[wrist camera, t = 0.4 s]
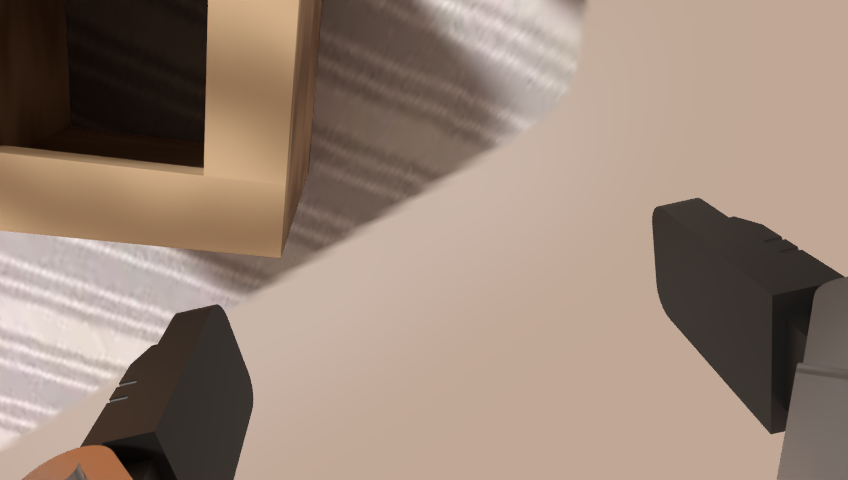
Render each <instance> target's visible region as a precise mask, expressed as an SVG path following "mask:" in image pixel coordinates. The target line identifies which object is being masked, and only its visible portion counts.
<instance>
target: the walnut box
mask: <svg viewBox="0 0 848 480" xmlns="http://www.w3.org/2000/svg"><path fill="white" fill-rule="evenodd" d="M322 2H323V0H208V23H207V63H206V104H205V143H204V142H196V141H187V140H179V139H171V138H162V137H154V136H146V135H137V134H129V133H121V132H112V131H104V130H96V129H87V128H79V127H71V112H70V91H69V70H68V50H67V29H66V8H65V0H0V231H10V232H20V233H30V234H40V235H50V236H61V237H71V238H81V239H91V240H101V241H111V242H121V243H132V244H142V245H152V246H162V247H172V248H182V249H192V250H203V251H213V252H223V253H233V254H243V255H253V256H263V257H274V258H281V255H282V252H283V249H284V246H285V243H286V240H287V237H288V234H289V230H290V227H291V224H292V221H293V218H294V215H295V212H296V209H297V206H298V202H299V199H300V196H301V193H302V190H303V187H304V184H305V181H306V178H307V174H308V170H309V158H310V146H311V134H312V122H313V110H314V98H315V86H316V74H317V62H318V50H319V38H320V26H321V14H322Z"/></svg>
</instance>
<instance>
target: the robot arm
mask: <svg viewBox="0 0 848 480" xmlns="http://www.w3.org/2000/svg"><path fill="white" fill-rule="evenodd" d="M652 225H653V239H654V254H655V268H656V282H657V290H658V294H659V298H660V301H661V304H662V306H663V309H664V311H665V312H666V314H667V316H668V317H669V318H670V320H671V321H672V322H673V323H674V324H675V325H676V326H677V328H678V329H679V330H680V331H681V332H682V333H683V334H684V336H685V337H686V338H687V339H688V340H689V341H690V342H691V343H692V345H693V346H694V347H695V348H696V349H697V350H698V352H699V353H700V354H701V355H702V356H703V357H704V358H705V360H706V361H707V362H708V363H709V364H710V365H711V366H712V368H713V369H714V370H715V371H716V372H717V373H718V374H719V375H720V377H721V378H722V379H723V380H724V381H725V382H726V383H727V385H728V386H729V387H730V388H731V389H732V390H733V392H734V393H735V394H736V395H737V396H738V397H739V398H740V399H741V401H742V402H743V403H744V404H745V405H746V406H747V408H748V409H749V410H750V411H751V412H752V413H753V414H754V416H755V417H756V418H757V419H758V420H759V421H760V422H761V424H762V425H763V426H764V427H765V428H766V429H767V430H768V431H769V433H770V434H774V433H779V432H783V431H785V436H784V441H783V447H782V452H781V458H780V464H779V470H778V475H777V480H848V277H844V276H842V275H841V274H839V273H838V272H836V271H835V270H833V269H832V268H830V267H828V266H827V265H825V264H824V263H822V262H820V261H819V260H817V259H816V258H814V257H813V256H811V255H809V254H808V253H806V252H805V251H803V250H798V247H797V246H795V245H794V244H792V243H791V242H789V241H787V240H786V239H785V240H782V237H781V236H779V235H778V234H776V233H775V232H773V231H772V230H770V229H768V228H767V227H765V226H764V225H762V224H758V223H755V222H752V221H748V220H744V219H741V218H737V217H730V218H729V217H727V216H726V215H724V214H723V213H721V212H720V211H718V210H717V209H715V208H714V207H712V206H711V205H709V204H708V203H706V202H705V201H703V200H702V199H700V198H695V199H690V200H686V201H681V202H676V203H672V204H667V205H663V206H658V207H656V208H655V209H654V212H653V216H652ZM119 385H120V387H117V388H116V389H115V391H114V393H113V394H112V396H111V398H110V399H109V400H110V403H107V404H106V406H105V408H104V409H103V411H102V412H101V414H100V416H99V417H98V419H97V420H96V422H95V424H94V425H93V427H92V429H91V431H90V432H89V434H88V435H87V437H86V438H85V440H84V442H83V443H82V445H81V447H80V448H76V449H73V450H70V451H67V452H65V453H63V454H60V455H58V456H56V457H54V458H52V459H50V460H48V461H47V462H45V463H43V464H42V465H40V466H39V467H37V468H36V469H34V470H33V471H32V472H30V473H29V474H28V475H27V476H26V477H24V478H23V479H22V480H233V479H234V476H235V472H236V468H237V465H238V461H239V457H240V453H241V449H242V446H243V442H244V438H245V435H246V431H247V427H248V423H249V419H250V416H251V412H252V408H253V390H252V384H251V380H250V376H249V373H248V370H247V368H246V365H245V362H244V360H243V358H242V355H241V352H240V349H239V347H238V344H237V342H236V339H235V336H234V334H233V331H232V329H231V326H230V323H229V320H228V318H227V316H226V313H225V311H224V310H223V308H222V307H221V306H219V305H217V304H216V305H212V306H207V307H203V308H198V309H194V310H189V311H185V312H180V313H177V314H175V315H174V317H173V319H172V320H171V322H170V324H169V326H168V327H167V329H166V331H165V333H164V334H163V336H162V338H161V340H160V341H159V343H158V344H157V345H153V346H151V347H150V348H149V349H148V350H146V351H145V352H144V353H143V354H142V355H141V356H140V357H139V358H137V359H136V360H135V361H134V362H133V363H132V364H131V365H130V366H129V368H128V370H127V371H126V373H125V375H124V376H123V378H122V379H121V381H120V383H119Z"/></svg>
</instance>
